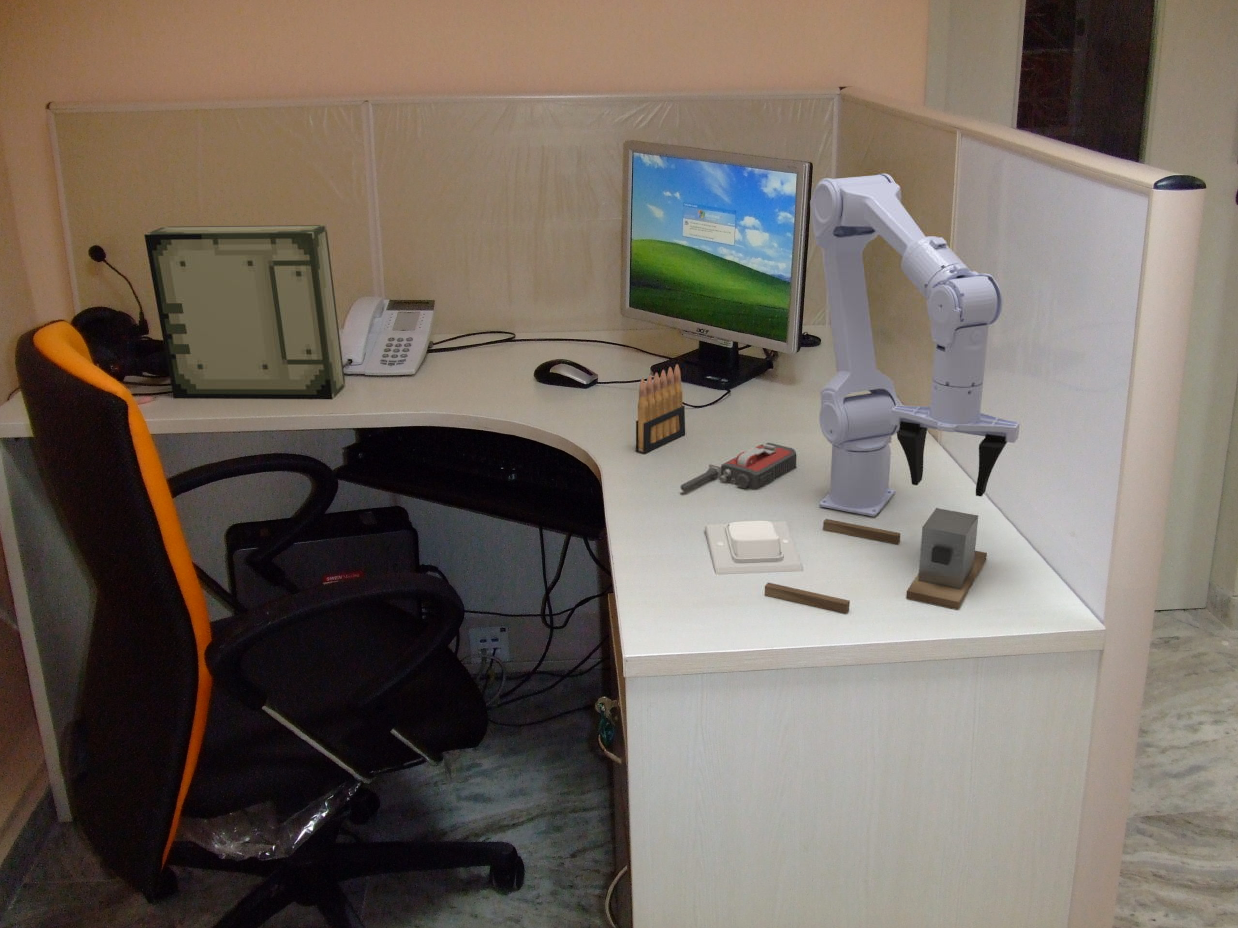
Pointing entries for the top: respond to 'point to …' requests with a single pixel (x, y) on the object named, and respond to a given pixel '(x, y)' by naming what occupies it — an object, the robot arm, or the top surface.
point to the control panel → (247, 311)
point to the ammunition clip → (660, 411)
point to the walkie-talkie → (750, 467)
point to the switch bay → (825, 600)
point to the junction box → (948, 548)
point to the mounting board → (945, 588)
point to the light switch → (752, 547)
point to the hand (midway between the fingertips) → (948, 487)
